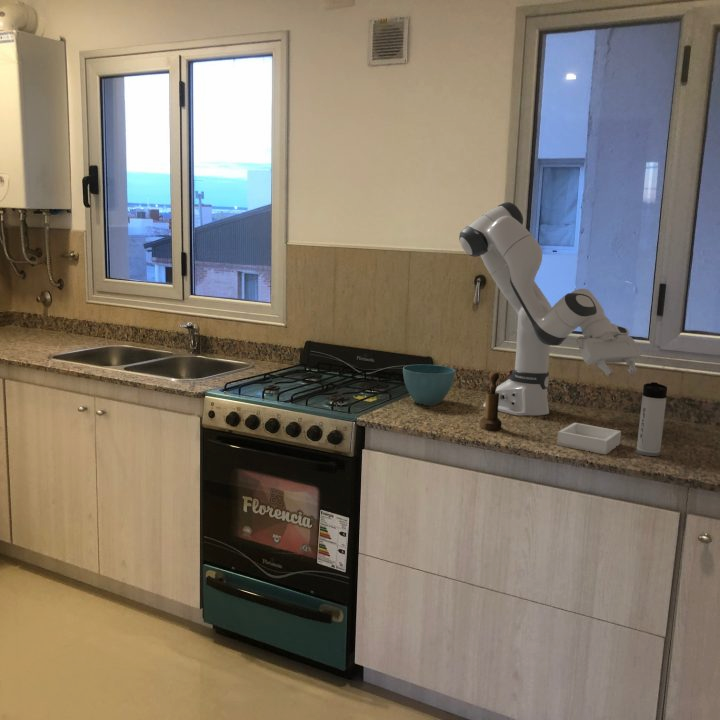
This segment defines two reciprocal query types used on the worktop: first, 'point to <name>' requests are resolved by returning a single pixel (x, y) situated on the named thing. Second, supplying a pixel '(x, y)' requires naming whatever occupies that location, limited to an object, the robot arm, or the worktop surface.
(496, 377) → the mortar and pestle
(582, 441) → the tray
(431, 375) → the teal bowl
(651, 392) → the travel mug
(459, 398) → the worktop surface
